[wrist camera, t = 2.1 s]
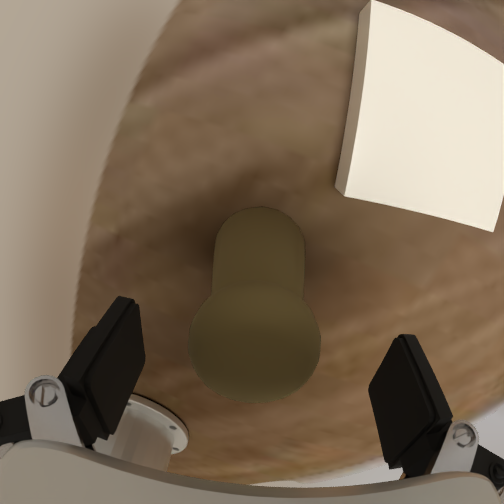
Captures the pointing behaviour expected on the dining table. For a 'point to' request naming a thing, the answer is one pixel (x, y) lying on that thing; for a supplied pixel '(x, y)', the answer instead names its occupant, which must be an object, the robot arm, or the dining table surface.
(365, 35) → the tile base
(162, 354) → the dining table surface
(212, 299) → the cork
